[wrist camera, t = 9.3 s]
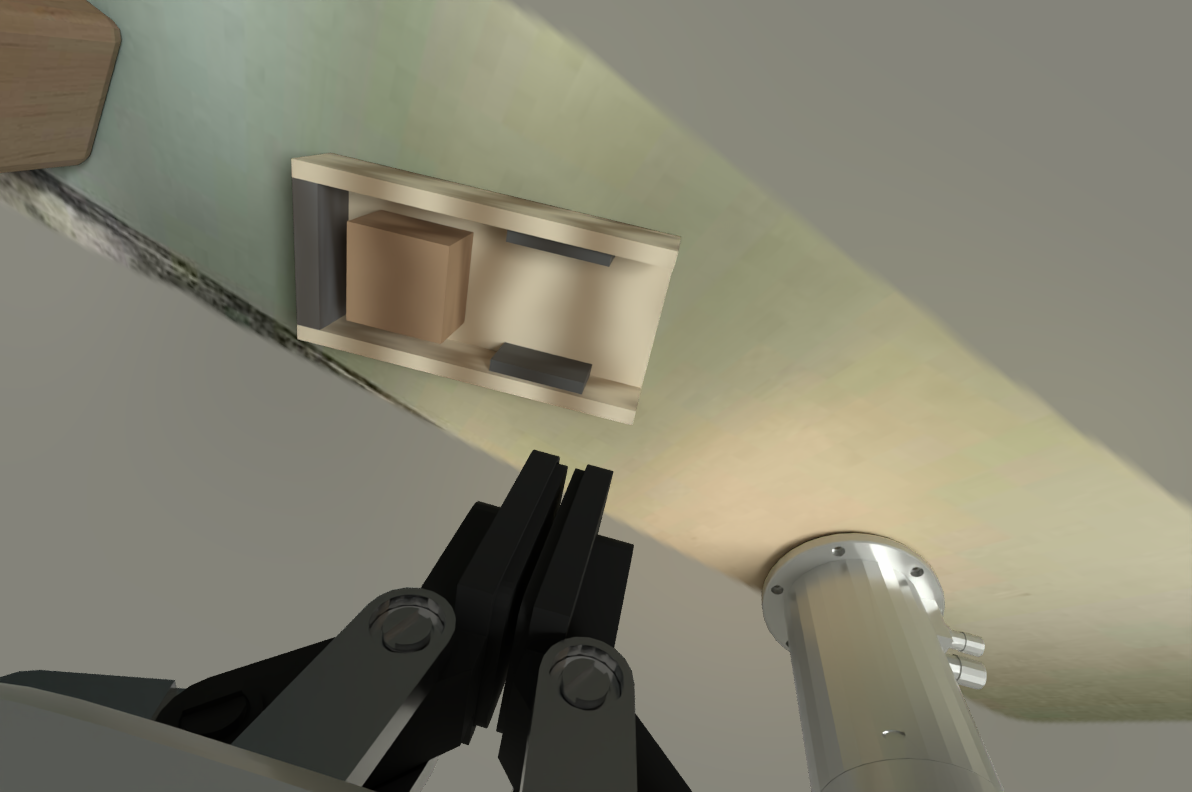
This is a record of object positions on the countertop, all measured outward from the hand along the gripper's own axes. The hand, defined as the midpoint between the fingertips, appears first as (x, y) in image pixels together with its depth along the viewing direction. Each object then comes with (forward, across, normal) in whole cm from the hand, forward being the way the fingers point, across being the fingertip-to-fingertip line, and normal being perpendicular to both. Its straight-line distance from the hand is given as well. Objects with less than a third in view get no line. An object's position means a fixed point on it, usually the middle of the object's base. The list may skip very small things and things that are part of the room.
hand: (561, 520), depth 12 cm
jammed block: (+27, +15, +4) cm, 31 cm away
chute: (+27, +10, +4) cm, 29 cm away
